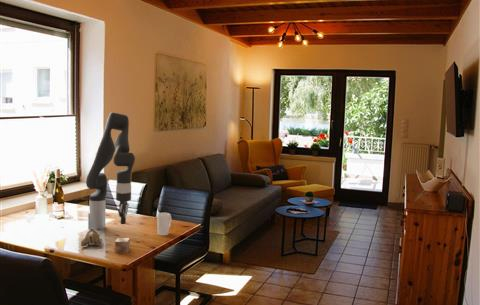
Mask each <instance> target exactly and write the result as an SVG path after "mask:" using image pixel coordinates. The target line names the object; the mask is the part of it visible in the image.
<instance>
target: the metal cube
mask: <svg viewBox="0 0 480 305" xmlns="http://www.w3.org/2000/svg"><path fill="white" fill-rule="evenodd" d="M114 245H115V246H114V248H115V252H114V253H116V254H117V253H118V254H121V253H122V254H123V253H124V254H126V253H128V252H129V251H130V248H131V247H130V245H131V244H130V238H129V237H117V238H116V240H115V242H114Z"/></svg>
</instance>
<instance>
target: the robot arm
mask: <svg viewBox="0 0 480 305" xmlns="http://www.w3.org/2000/svg"><path fill="white" fill-rule="evenodd" d="M129 122H130V120H129V117H128V116H127V115H126V114H123V113H118V112H113V111H111V112H110V113H109V114H108V117H107V120H106V123H105V127H104V131H103V134H102V137H101V140H100V142H99V145H98V148H97V150H96V154H95V158H94V160H93V163H92V164H91V167H90V169H89V171H88V173H87V176H86V181H85V185H86V187H87V189H89V190H94V192H93V193H91V194H90V195H89V199H88V200H89V201H88V203H89V208H88V209H89V212H87V214H88V215H87V216H88V218H87V219H88V220H87V225H88V227H87V229H89V230H90V229H92V228H94V229H95V230H103V229H105V228H106V225H107V224H106V197H107V189H108V178H107V174H106V173H105V172H102V170H104V169H105V167H107V166H108V165H109V163H110V162H112V161H113V162H112V163H113V164H114V166H116V167H126V168H125V169H122V170H118V171H117V173H116V185H115V186H116V188H115V192H116V193H115V200H116V201H118V202H119V204H118V209H117V213H118V216H119V218H120V224H121V225H126V223H127V222H126V221H127V219H126V218H127V215H128V213H129V212H128V211H129V206H130V204H129V201H131V200H132V171H133V167H134V164H135V161H136V157H135V156H136V155H135V154H134V153H132V152H130V142H129V125H130V124H129ZM112 130H116V131H121V132H120V133H119V134H118V135H117V136H116V138H115V141H114V140H113V138H112ZM112 159H113V160H112Z"/></svg>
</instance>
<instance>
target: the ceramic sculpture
mask: <svg viewBox="0 0 480 305" xmlns="http://www.w3.org/2000/svg"><path fill="white" fill-rule="evenodd" d="M100 236H101V234H100V233H99V231H98V229H94V228H92V229H89V230H87V232H86V234H85V236H84V238H83V239H82V240H81V241H80V245H81V247H86V246H87V245H88V246H95V245H96V246H101V245H102V244H103V239H102V238H100Z"/></svg>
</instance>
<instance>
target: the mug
mask: <svg viewBox="0 0 480 305" xmlns="http://www.w3.org/2000/svg"><path fill="white" fill-rule="evenodd" d="M156 216H157V218H156V220H157V222H156V223H157V236H158V235H159V236H168V235H169V230H170V228H171V225H172V220H173V219H172V216H171V213H169V212H159V213H157V214H156Z"/></svg>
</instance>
